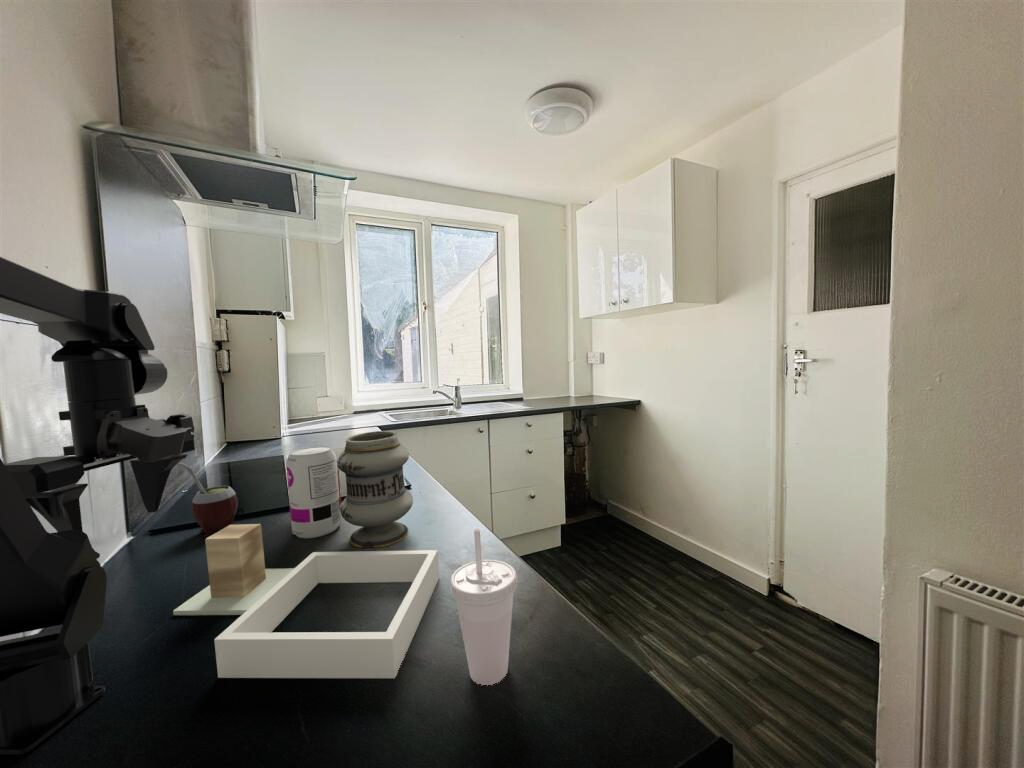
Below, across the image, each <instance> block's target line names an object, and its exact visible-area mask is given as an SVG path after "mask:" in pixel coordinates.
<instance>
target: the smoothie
mask: <svg viewBox="0 0 1024 768" xmlns="http://www.w3.org/2000/svg"><path fill="white" fill-rule="evenodd" d="M473 532H474V534H473V535H474V551H475V554H474V555H475V561H471V562H468V563H466V564H464V565H462V566H460V567H459V568H457V569H456V570H455V571H454V572H453V573H452V575H451V576H450V592H451V595H452V596H453V597H454V598H455V604H456V608H457V613H458V618H459V624H460V628H461V629H460V630H461V635H462V639H463V645H464V649H465V655H466V660H467V666H468V670H469V671H468V672H469V677H470V678H471V680H472V681H473V682H474V683H475V682H476V683H475V684H477V685H479V684H481V685H480V686H483V685H487V686H486V687H488V685H491V686H494V685H493V684H495V683H497V684H499V683H501V682H502V681H503V680H504V679H505V678H506V677H505V676H507V675H506V674H508V671H509V658H510V656H509V655H510V646H511V645H510V642H511V630H512V618H513V617H512V615H513V605H514V604H513V603H514V592H515V591H516V589H517V587H518V579H517V572H516V570H515V568H514V567H513V566H511V565H510V564H509V563H507V562H505V561H501V560H498V559H482V546H481V545H482V543H481V530H480V529H479V528H476V529H474V530H473ZM504 677H505V678H504ZM503 678H504V679H503ZM502 679H503V680H502ZM501 680H502V681H501ZM500 681H501V682H500ZM498 682H499V683H498ZM495 685H496V684H495Z"/></svg>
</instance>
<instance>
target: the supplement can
mask: <svg viewBox="0 0 1024 768" xmlns="http://www.w3.org/2000/svg"><path fill="white" fill-rule="evenodd" d="M336 458H337V455H336V453H335V452H334V450H333V448H332V447H331V446H327V445H319V446H309V447H303V448H299V449H295V450H292V451H290V452H289V454H288V457H287V458H286V461H285V468H286V477H287V489H288V499H289V512H290V523H291V532H292V534H293V535H296V537H297V538H299V539H315V538H318V537H323V536H326V535H329V534H331V533H333V532H335V531H336V530H337V529H338V527H339V526H340V525H341V523H342V515H341V512H340V508H341V506H340V500H339V487H338V475H337V462H336Z"/></svg>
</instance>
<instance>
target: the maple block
mask: <svg viewBox="0 0 1024 768" xmlns="http://www.w3.org/2000/svg"><path fill="white" fill-rule="evenodd" d="M262 531H263V530H262V524H261V523H247V524H246V523H245V524H242V523H241V524H233V525H229V526H227V527H225V528H224V529H222V530H220V531H218V532H217V533H215V534H213V535H211V536H210V537H208V538H206V539H204V540H205V541H204V542H205V543H204V544H205V551H206V560H207V570H208V580H209V585H210V591H211V598H230V597H245V596H246V595H247V594H249V593H250V592H251V591H252V590H253V589H254V588H256V587H257V586H258V585H259V584H260V583H262V582H263V581H264V580H265V579H266V573H265V569H266V564H265V562H266V561H265V553H264V542H263V541H264V540H263V533H262Z"/></svg>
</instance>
